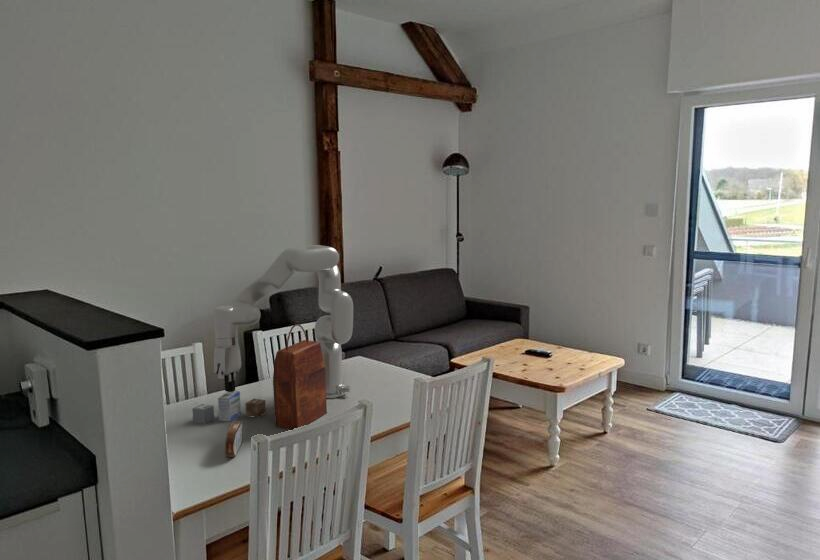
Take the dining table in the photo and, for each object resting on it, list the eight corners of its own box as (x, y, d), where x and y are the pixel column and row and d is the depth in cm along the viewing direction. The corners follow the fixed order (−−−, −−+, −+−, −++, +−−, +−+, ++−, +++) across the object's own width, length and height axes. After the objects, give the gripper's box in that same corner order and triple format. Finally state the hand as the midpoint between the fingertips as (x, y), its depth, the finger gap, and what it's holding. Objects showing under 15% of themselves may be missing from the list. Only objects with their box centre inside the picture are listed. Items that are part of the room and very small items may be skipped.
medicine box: (230, 422, 206) (229, 398, 205) (218, 421, 207) (217, 397, 206) (241, 413, 214) (240, 391, 213) (230, 413, 215) (228, 390, 214)
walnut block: (265, 413, 215) (265, 399, 214) (257, 418, 210) (257, 404, 210) (254, 411, 217) (253, 397, 216) (246, 416, 212) (245, 402, 211)
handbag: (272, 427, 202) (267, 328, 197) (305, 407, 220) (301, 316, 214) (297, 432, 198) (292, 331, 192) (329, 412, 215) (325, 319, 210)
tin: (235, 441, 190) (233, 416, 189) (245, 441, 190) (243, 416, 189) (224, 462, 175) (223, 435, 174) (235, 461, 176) (234, 434, 174)
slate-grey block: (214, 419, 209) (213, 405, 209) (204, 424, 205) (204, 409, 204) (202, 417, 211) (202, 403, 210) (193, 422, 206) (192, 408, 206)
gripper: (231, 335, 215) (234, 383, 218) (204, 345, 201) (207, 397, 204) (248, 336, 212) (251, 385, 215) (222, 347, 199) (225, 399, 201)
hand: (230, 390), depth 210 cm, fingers closed
